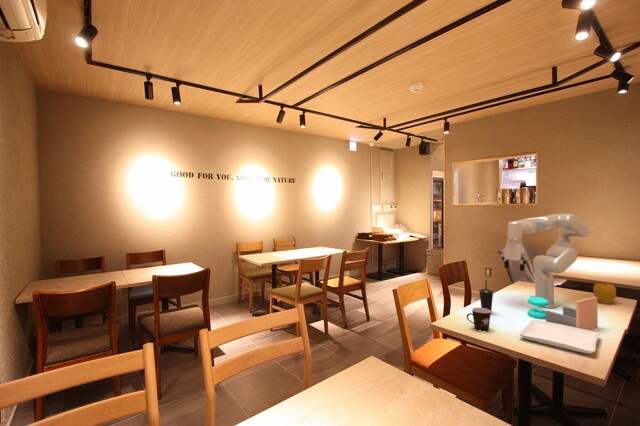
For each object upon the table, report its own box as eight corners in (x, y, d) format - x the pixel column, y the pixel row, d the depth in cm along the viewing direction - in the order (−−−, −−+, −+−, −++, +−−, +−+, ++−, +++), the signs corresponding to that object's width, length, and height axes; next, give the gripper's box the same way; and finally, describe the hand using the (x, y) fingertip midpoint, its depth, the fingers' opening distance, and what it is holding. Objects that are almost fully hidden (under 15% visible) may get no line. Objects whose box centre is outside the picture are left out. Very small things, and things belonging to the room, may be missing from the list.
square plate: (600, 339, 147) (600, 331, 147) (594, 360, 128) (594, 351, 127) (532, 324, 166) (532, 317, 166) (518, 341, 147) (518, 332, 147)
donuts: (535, 301, 172) (523, 296, 182) (535, 319, 173) (523, 313, 183) (553, 301, 173) (540, 296, 183) (553, 319, 173) (540, 312, 183)
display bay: (546, 323, 166) (545, 294, 166) (564, 318, 173) (564, 290, 172) (579, 334, 152) (578, 301, 152) (597, 328, 159) (597, 297, 159)
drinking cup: (493, 312, 185) (492, 279, 185) (494, 316, 178) (494, 282, 178) (478, 310, 189) (478, 278, 188) (479, 314, 182) (479, 281, 181)
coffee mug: (489, 327, 163) (489, 308, 163) (492, 333, 155) (492, 313, 155) (465, 324, 167) (464, 306, 167) (467, 331, 159) (466, 311, 159)
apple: (593, 299, 206) (593, 280, 206) (616, 302, 199) (616, 282, 199) (592, 303, 198) (592, 283, 198) (616, 306, 191) (616, 285, 191)
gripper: (497, 240, 197) (497, 267, 197) (524, 243, 181) (524, 272, 181) (505, 240, 200) (505, 266, 200) (533, 242, 184) (532, 271, 184)
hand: (514, 269), depth 191 cm, fingers open, 9 cm apart
